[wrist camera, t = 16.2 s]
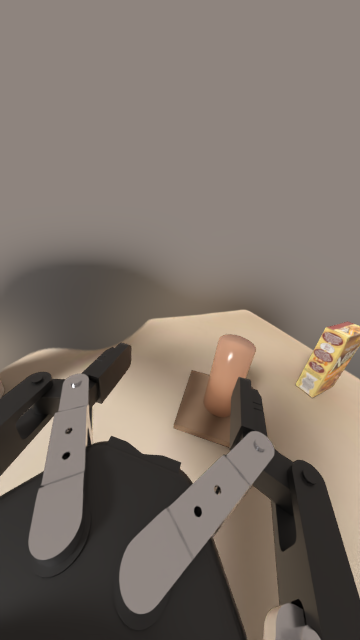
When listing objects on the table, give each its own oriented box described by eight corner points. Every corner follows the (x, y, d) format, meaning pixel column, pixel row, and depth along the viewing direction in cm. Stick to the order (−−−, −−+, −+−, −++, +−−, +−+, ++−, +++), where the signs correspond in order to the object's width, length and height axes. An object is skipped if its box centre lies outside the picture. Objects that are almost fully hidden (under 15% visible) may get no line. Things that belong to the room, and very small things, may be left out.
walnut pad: (173, 427, 30) (174, 423, 29) (190, 374, 41) (191, 370, 41) (256, 457, 27) (259, 452, 27) (251, 391, 39) (252, 387, 38)
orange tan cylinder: (201, 411, 32) (217, 349, 26) (205, 388, 37) (220, 331, 31) (233, 421, 31) (257, 359, 25) (233, 396, 36) (254, 339, 30)
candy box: (312, 399, 39) (351, 337, 32) (293, 384, 42) (325, 326, 35) (333, 386, 43) (372, 330, 36) (314, 374, 46) (347, 320, 39)
